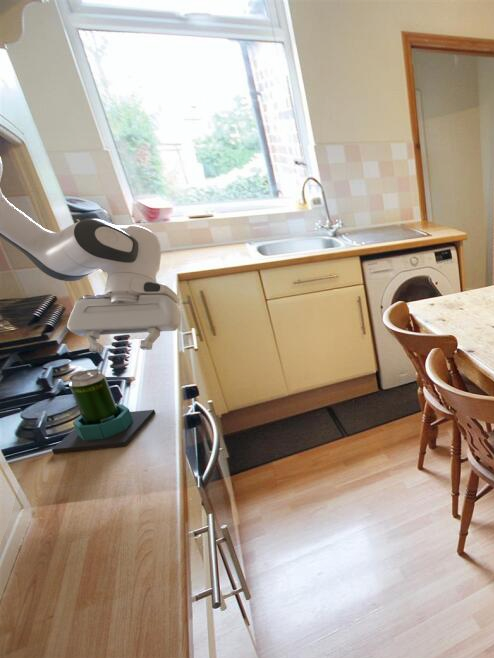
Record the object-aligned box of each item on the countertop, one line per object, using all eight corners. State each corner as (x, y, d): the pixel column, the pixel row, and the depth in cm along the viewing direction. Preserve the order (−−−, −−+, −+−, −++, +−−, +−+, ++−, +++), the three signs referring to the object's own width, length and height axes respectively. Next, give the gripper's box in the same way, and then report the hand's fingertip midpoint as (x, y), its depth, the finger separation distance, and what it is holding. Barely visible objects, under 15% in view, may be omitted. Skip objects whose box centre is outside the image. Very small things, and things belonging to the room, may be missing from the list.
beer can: (129, 423, 95) (110, 371, 90) (100, 438, 90) (78, 383, 86) (111, 418, 97) (91, 366, 92) (82, 432, 92) (59, 379, 87)
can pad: (53, 453, 87) (45, 436, 86) (91, 419, 98) (84, 402, 96) (126, 446, 90) (119, 429, 88) (155, 413, 100) (150, 397, 99)
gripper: (66, 288, 100) (53, 348, 95) (173, 284, 104) (165, 342, 99) (86, 302, 105) (74, 359, 101) (187, 297, 110) (180, 352, 105)
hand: (120, 350), depth 100 cm, fingers open, 8 cm apart
